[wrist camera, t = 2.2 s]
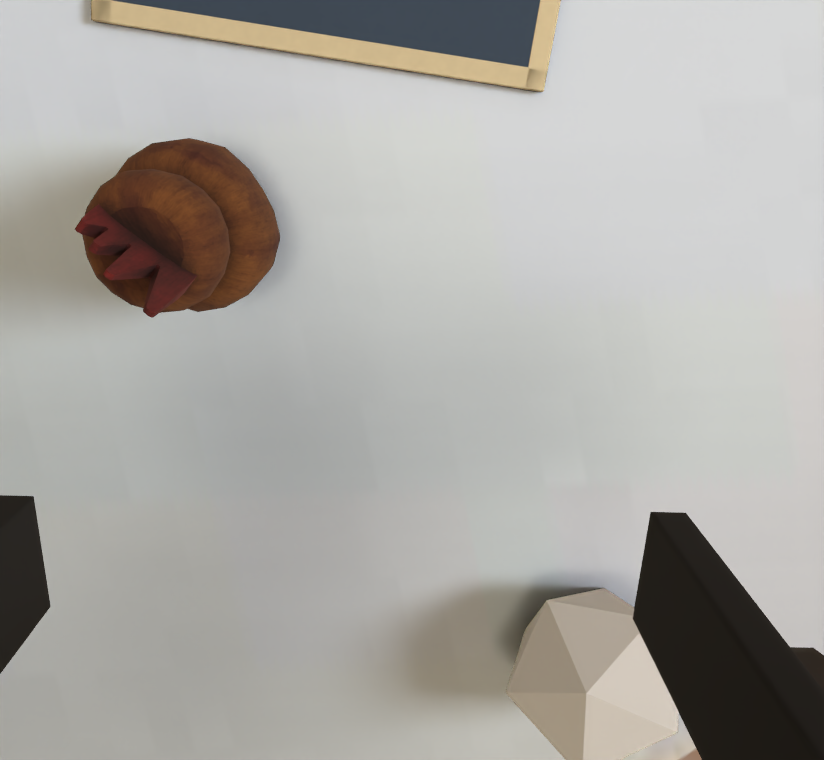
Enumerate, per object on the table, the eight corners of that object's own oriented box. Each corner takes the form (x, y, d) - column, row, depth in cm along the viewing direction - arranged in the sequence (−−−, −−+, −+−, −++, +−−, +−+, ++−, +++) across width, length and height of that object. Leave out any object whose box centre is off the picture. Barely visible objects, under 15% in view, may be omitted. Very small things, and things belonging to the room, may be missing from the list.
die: (536, 700, 44) (680, 812, 36) (447, 690, 38) (597, 819, 30) (591, 576, 45) (744, 660, 37) (512, 547, 39) (675, 639, 31)
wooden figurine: (311, 248, 34) (248, 326, 20) (212, 304, 35) (82, 417, 20) (234, 117, 32) (102, 98, 18) (131, 180, 33) (-76, 210, 18)
